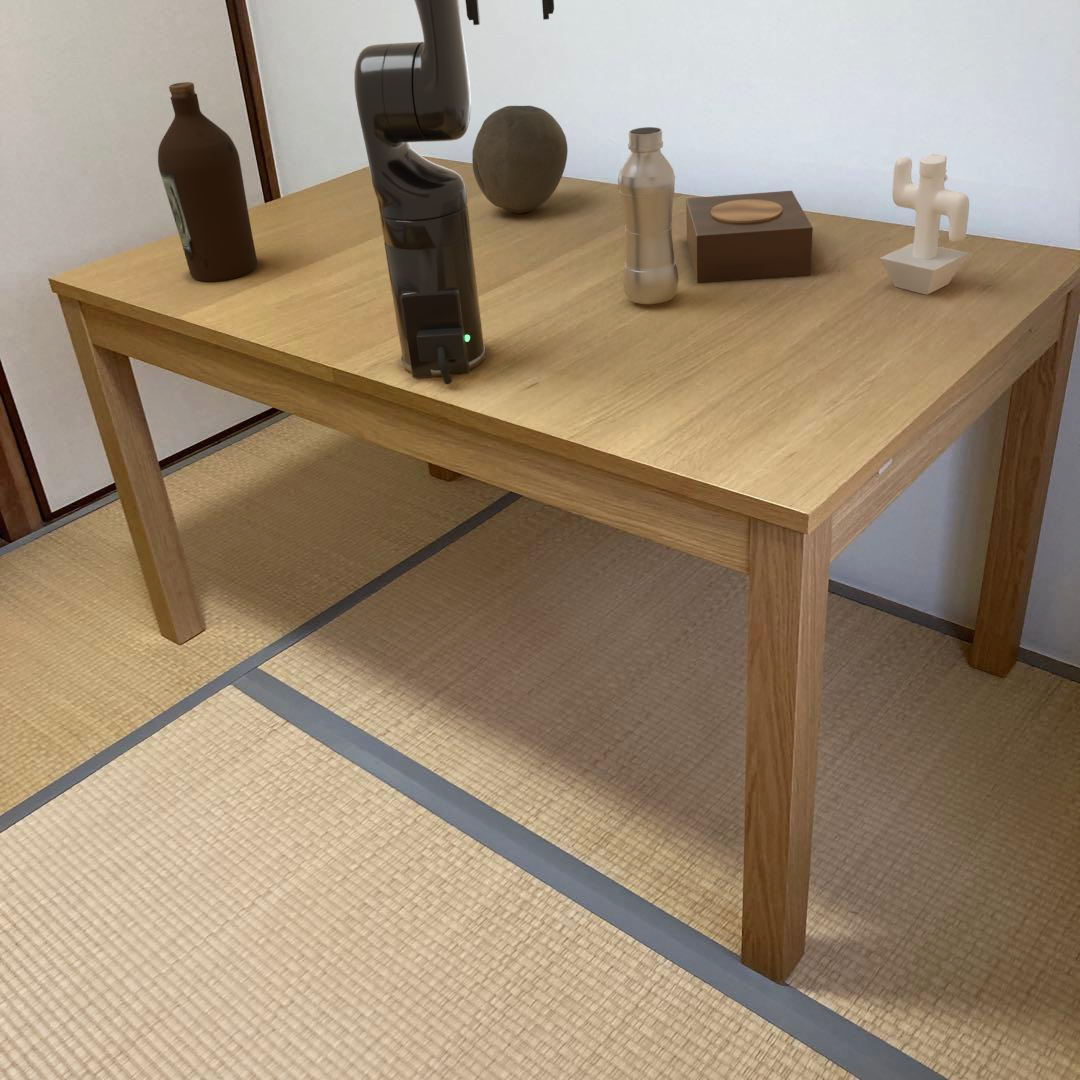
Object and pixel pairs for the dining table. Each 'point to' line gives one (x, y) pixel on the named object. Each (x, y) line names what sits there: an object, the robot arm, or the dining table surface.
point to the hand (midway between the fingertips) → (511, 21)
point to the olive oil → (205, 192)
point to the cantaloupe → (519, 157)
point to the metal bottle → (648, 219)
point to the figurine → (927, 226)
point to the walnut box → (748, 236)
